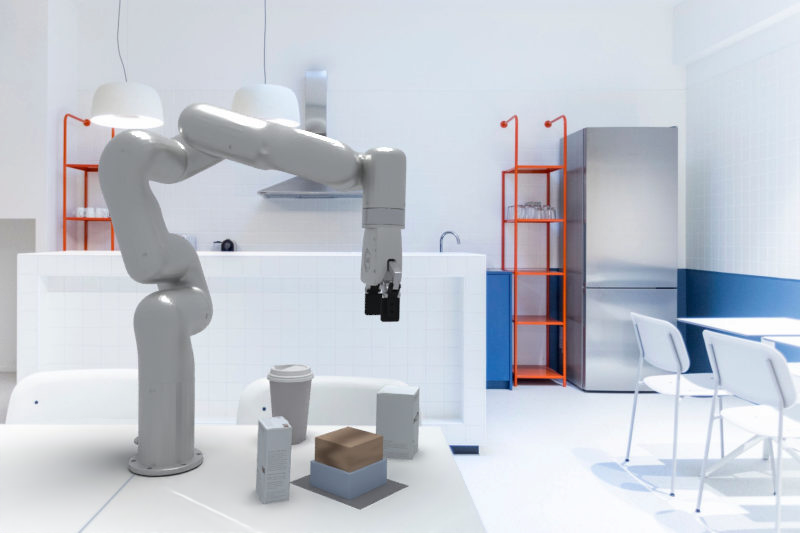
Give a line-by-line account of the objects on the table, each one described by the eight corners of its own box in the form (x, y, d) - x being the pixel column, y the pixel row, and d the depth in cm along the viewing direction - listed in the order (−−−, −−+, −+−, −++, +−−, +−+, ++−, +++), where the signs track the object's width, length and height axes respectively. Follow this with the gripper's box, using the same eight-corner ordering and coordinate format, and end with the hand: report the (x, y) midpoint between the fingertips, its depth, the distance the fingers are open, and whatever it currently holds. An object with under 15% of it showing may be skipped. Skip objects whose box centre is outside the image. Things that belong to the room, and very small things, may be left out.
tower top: (314, 461, 100) (314, 437, 100) (348, 449, 106) (348, 426, 106) (350, 472, 95) (350, 447, 95) (382, 459, 101) (383, 435, 101)
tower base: (310, 485, 100) (310, 461, 100) (347, 470, 107) (347, 447, 107) (349, 499, 94) (350, 474, 94) (386, 482, 101) (387, 459, 101)
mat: (288, 484, 101) (288, 482, 101) (339, 465, 110) (339, 463, 110) (359, 511, 91) (360, 509, 91) (408, 488, 100) (408, 485, 100)
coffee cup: (295, 429, 131) (296, 361, 131) (322, 440, 125) (323, 367, 124) (257, 439, 125) (257, 366, 124) (284, 450, 118) (285, 374, 118)
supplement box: (412, 462, 113) (414, 394, 113) (374, 458, 114) (375, 392, 114) (419, 449, 120) (420, 386, 120) (383, 446, 122) (384, 383, 121)
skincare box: (254, 492, 98) (255, 418, 97) (282, 488, 100) (283, 415, 99) (262, 507, 92) (263, 428, 92) (291, 502, 94) (292, 425, 94)
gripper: (350, 221, 112) (348, 313, 113) (377, 217, 96) (374, 324, 96) (388, 222, 115) (386, 312, 115) (421, 219, 98) (418, 324, 99)
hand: (381, 318), depth 106 cm, fingers open, 9 cm apart
